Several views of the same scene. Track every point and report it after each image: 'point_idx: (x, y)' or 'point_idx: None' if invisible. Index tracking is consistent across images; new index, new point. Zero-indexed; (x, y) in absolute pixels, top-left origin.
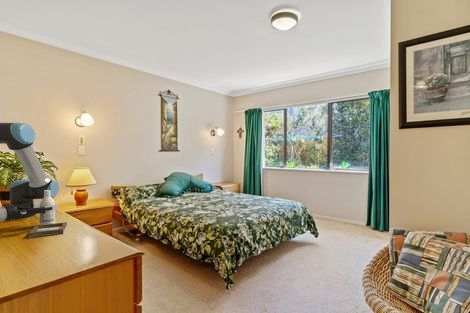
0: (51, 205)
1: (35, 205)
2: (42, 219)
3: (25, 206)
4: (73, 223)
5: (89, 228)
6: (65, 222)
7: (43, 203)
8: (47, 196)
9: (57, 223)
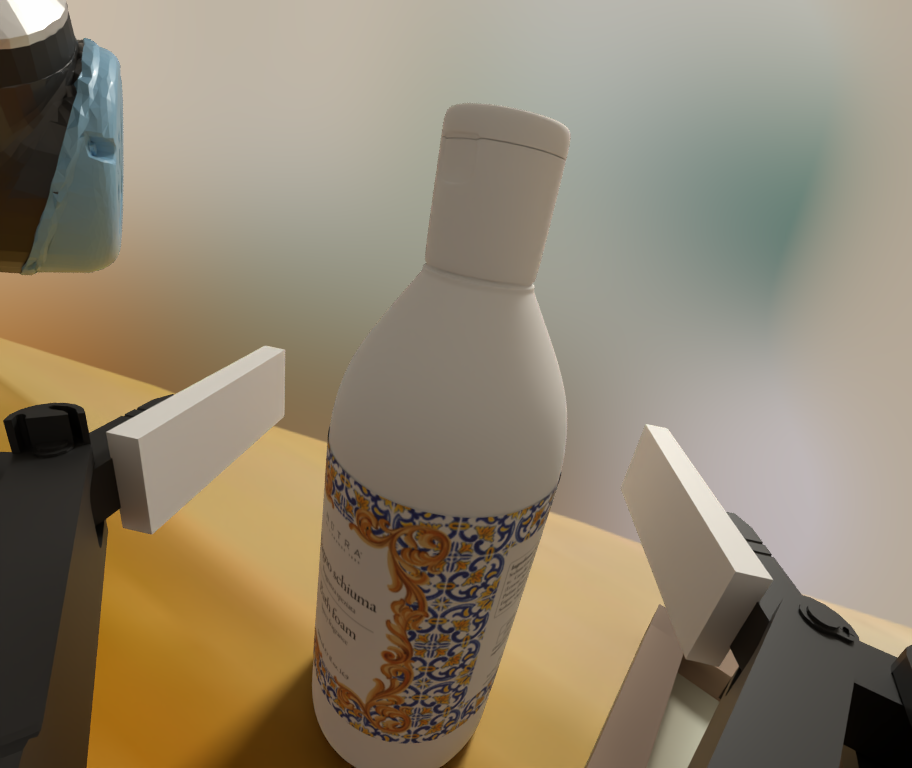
0: (681, 477)
1: (168, 460)
2: (443, 705)
3: (34, 712)
4: (581, 557)
5: (876, 626)
6: (663, 617)
7: (523, 449)
8: (534, 278)
9: (646, 679)
